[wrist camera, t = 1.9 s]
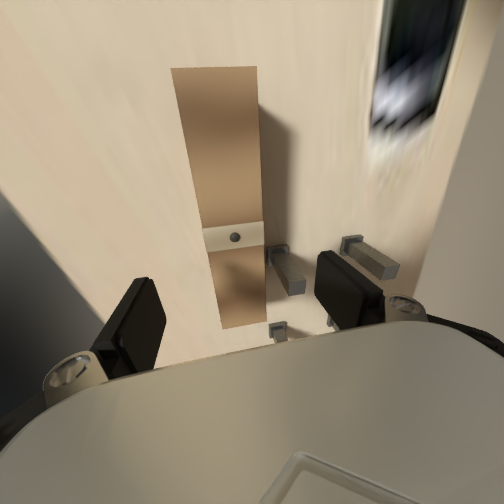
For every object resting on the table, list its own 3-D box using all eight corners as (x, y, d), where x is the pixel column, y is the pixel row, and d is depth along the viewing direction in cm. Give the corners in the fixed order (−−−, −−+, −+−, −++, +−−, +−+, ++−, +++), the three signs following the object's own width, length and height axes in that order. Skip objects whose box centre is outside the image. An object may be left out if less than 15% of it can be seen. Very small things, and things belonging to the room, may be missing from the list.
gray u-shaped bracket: (267, 247, 23) (284, 279, 17) (360, 234, 24) (404, 260, 19) (267, 264, 24) (284, 300, 18) (356, 251, 25) (397, 280, 20)
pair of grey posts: (268, 324, 29) (282, 366, 23) (342, 310, 30) (372, 347, 25) (269, 335, 30) (282, 378, 24) (340, 321, 32) (368, 358, 26)
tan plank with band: (184, 95, 15) (169, 67, 10) (243, 93, 16) (258, 65, 11) (220, 291, 25) (222, 330, 20) (256, 285, 25) (267, 322, 20)
